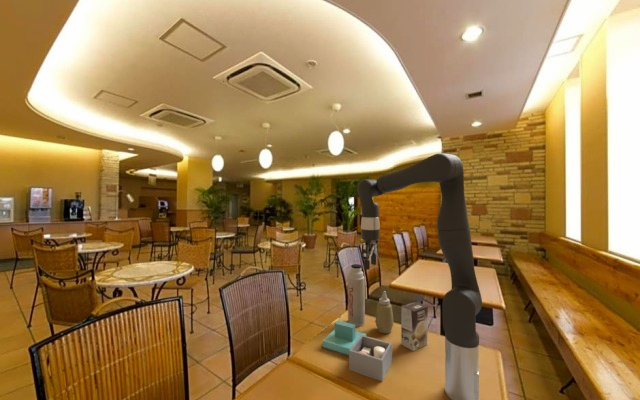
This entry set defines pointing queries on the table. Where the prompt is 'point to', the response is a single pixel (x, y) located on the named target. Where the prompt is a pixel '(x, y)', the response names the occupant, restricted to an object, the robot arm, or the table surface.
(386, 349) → the storage box
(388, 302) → the squeeze bottle
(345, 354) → the rubber mat
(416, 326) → the coffee box
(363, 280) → the thermos bottle
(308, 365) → the table surface
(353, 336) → the lid
